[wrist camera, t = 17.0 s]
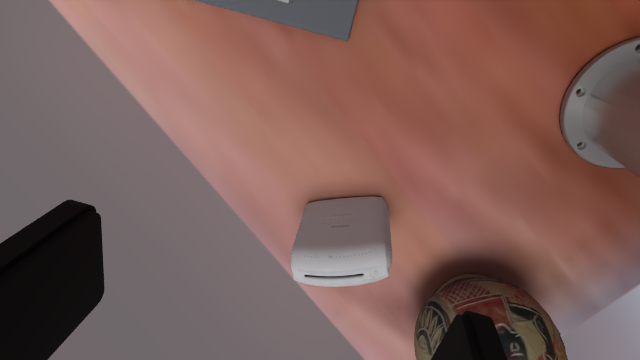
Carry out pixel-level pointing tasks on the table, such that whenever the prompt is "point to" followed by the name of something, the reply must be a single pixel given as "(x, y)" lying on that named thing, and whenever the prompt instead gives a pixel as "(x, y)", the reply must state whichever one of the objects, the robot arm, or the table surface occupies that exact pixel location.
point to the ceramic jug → (502, 306)
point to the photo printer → (343, 242)
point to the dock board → (299, 13)
